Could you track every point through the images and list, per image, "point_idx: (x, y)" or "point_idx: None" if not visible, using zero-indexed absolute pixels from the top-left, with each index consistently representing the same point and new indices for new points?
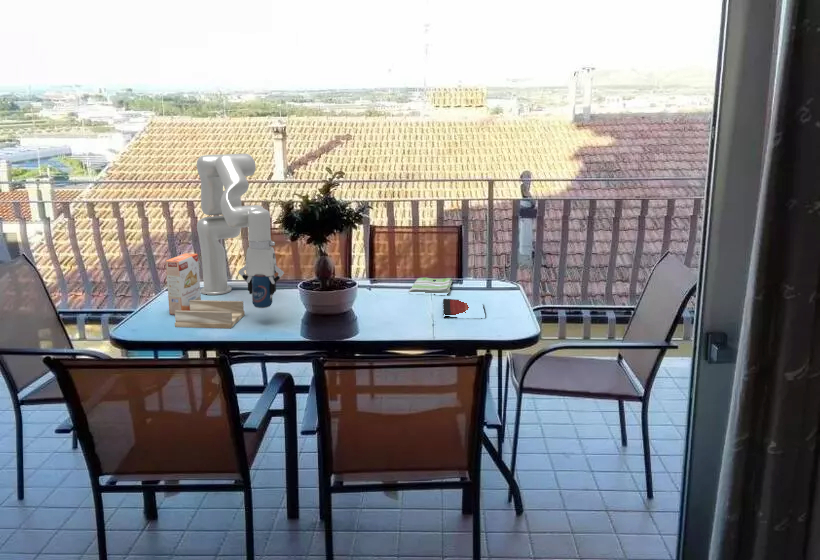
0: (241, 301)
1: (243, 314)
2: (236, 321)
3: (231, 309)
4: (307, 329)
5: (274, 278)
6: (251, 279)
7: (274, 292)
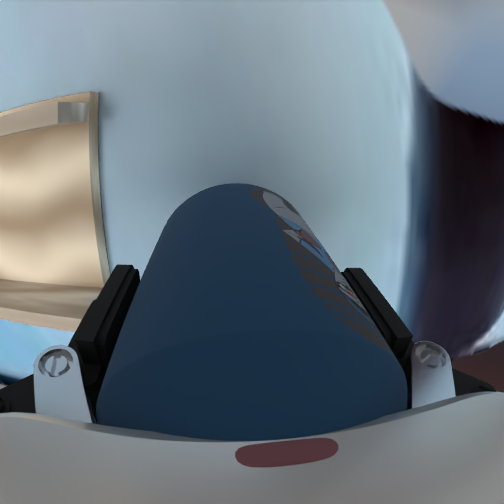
0: (50, 111)
1: (95, 113)
2: (101, 228)
3: (30, 130)
4: (419, 290)
5: (435, 392)
6: (84, 388)
7: (357, 270)
